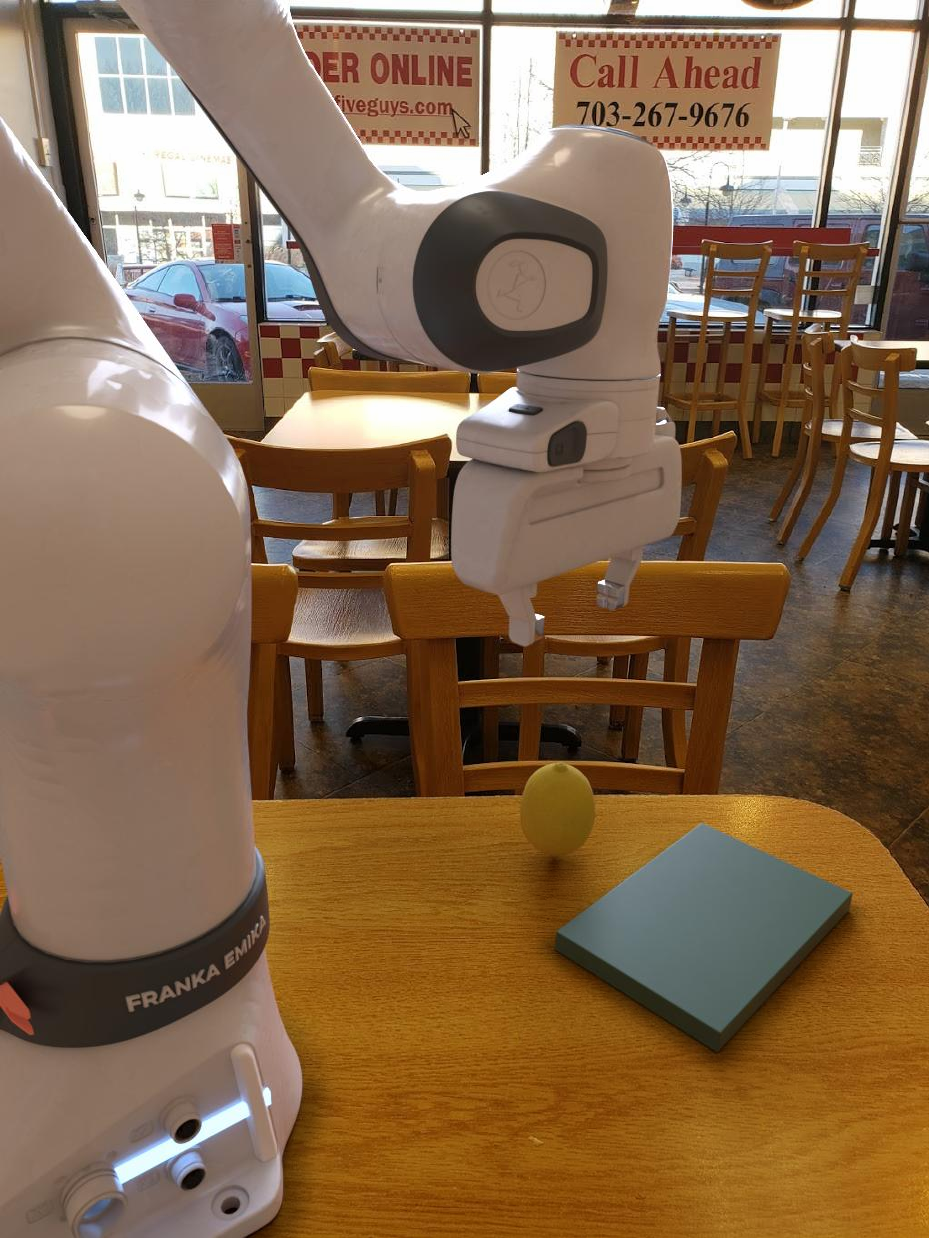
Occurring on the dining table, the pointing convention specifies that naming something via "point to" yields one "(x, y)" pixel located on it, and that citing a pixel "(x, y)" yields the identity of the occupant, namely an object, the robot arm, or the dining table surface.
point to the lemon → (557, 809)
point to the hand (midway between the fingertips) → (570, 623)
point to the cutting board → (705, 932)
